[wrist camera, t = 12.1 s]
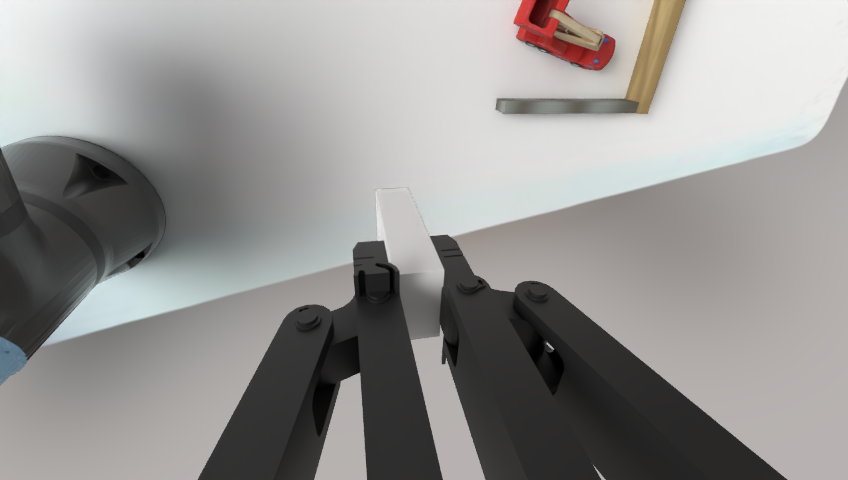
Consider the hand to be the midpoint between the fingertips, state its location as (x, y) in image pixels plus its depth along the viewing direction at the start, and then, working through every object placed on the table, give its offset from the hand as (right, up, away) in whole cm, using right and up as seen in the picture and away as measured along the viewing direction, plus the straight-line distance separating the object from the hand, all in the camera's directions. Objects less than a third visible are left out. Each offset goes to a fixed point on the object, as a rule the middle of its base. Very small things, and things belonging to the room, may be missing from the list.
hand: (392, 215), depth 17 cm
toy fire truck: (+15, +21, +22) cm, 34 cm away
